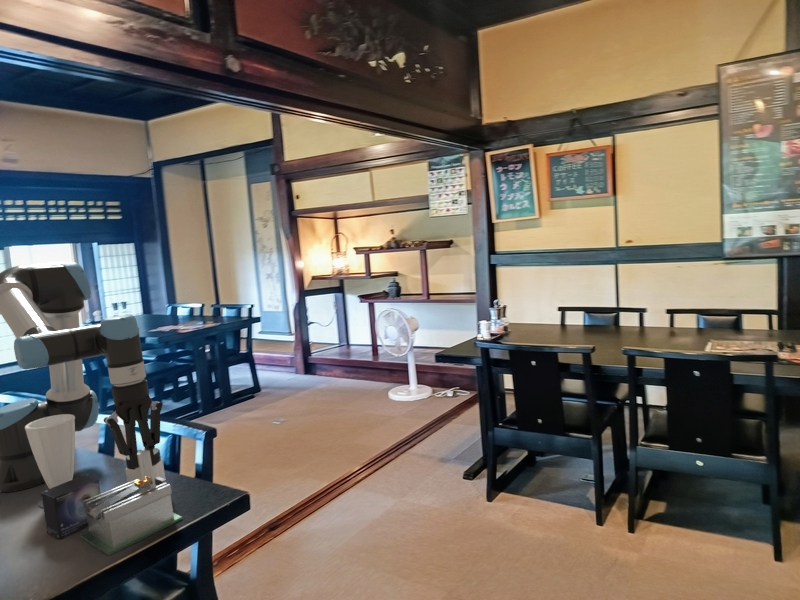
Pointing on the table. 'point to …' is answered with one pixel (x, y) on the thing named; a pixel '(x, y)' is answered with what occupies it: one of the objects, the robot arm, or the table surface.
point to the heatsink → (130, 516)
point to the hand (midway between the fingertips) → (145, 477)
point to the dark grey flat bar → (118, 498)
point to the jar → (156, 465)
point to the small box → (68, 505)
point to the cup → (53, 448)
